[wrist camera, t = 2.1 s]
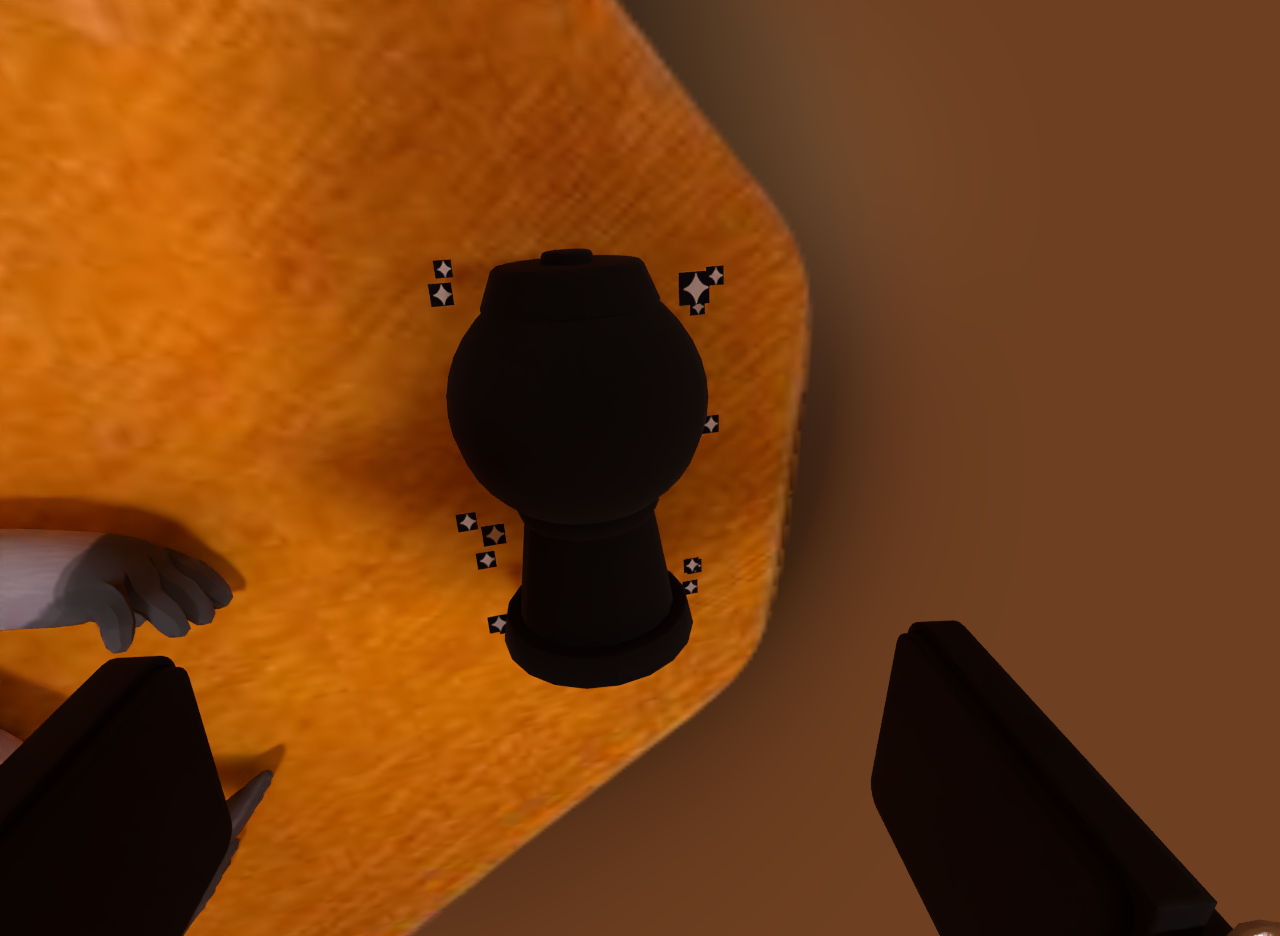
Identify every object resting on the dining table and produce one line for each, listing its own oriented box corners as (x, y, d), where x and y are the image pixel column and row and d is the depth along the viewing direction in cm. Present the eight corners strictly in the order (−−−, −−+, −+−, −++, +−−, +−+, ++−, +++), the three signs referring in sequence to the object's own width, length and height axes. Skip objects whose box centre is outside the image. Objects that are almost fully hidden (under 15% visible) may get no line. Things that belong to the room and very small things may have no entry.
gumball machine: (690, 562, 21) (682, 233, 17) (769, 683, 16) (782, 247, 12) (478, 600, 20) (418, 251, 16) (485, 746, 15) (398, 276, 11)
